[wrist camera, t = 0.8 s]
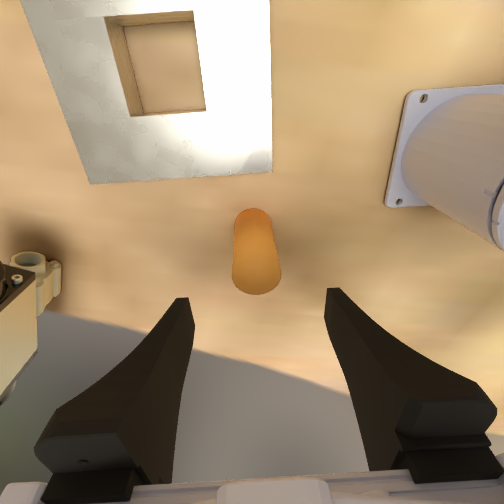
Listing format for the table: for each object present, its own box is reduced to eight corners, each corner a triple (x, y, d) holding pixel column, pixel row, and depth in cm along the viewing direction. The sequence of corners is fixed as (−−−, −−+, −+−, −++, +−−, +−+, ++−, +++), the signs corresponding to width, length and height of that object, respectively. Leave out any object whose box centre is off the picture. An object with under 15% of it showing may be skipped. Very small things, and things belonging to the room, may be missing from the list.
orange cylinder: (270, 207, 22) (280, 253, 16) (271, 240, 23) (281, 293, 17) (233, 209, 22) (229, 256, 16) (236, 242, 23) (234, 296, 17)
